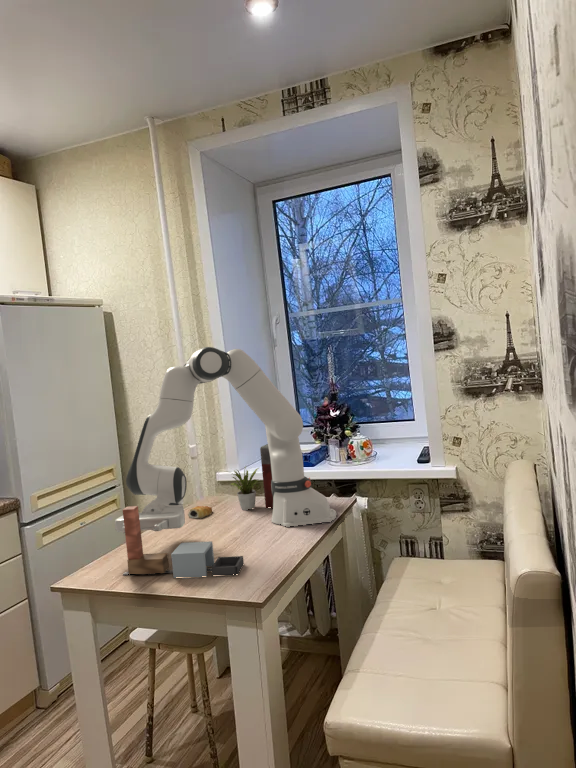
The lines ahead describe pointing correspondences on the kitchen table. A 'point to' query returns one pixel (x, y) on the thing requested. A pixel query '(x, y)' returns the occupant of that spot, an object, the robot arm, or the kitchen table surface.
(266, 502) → the toy vending machine
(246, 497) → the house plant
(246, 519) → the kitchen table surface
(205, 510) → the pastry
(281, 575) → the kitchen table surface
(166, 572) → the rail
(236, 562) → the dark grey tray
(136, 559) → the upright post on base
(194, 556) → the tunnel
